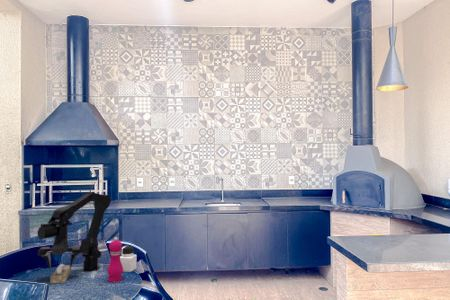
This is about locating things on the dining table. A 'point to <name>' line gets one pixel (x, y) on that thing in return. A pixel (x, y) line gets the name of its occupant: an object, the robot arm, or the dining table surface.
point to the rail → (60, 278)
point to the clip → (60, 269)
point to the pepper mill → (115, 261)
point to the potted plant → (128, 259)
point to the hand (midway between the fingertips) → (60, 268)
